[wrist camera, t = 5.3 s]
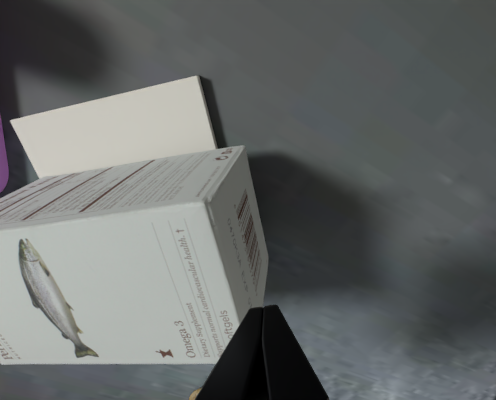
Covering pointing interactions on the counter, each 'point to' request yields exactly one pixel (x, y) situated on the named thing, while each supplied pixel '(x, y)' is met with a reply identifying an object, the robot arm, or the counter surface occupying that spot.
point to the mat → (119, 129)
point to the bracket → (3, 161)
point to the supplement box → (131, 262)
